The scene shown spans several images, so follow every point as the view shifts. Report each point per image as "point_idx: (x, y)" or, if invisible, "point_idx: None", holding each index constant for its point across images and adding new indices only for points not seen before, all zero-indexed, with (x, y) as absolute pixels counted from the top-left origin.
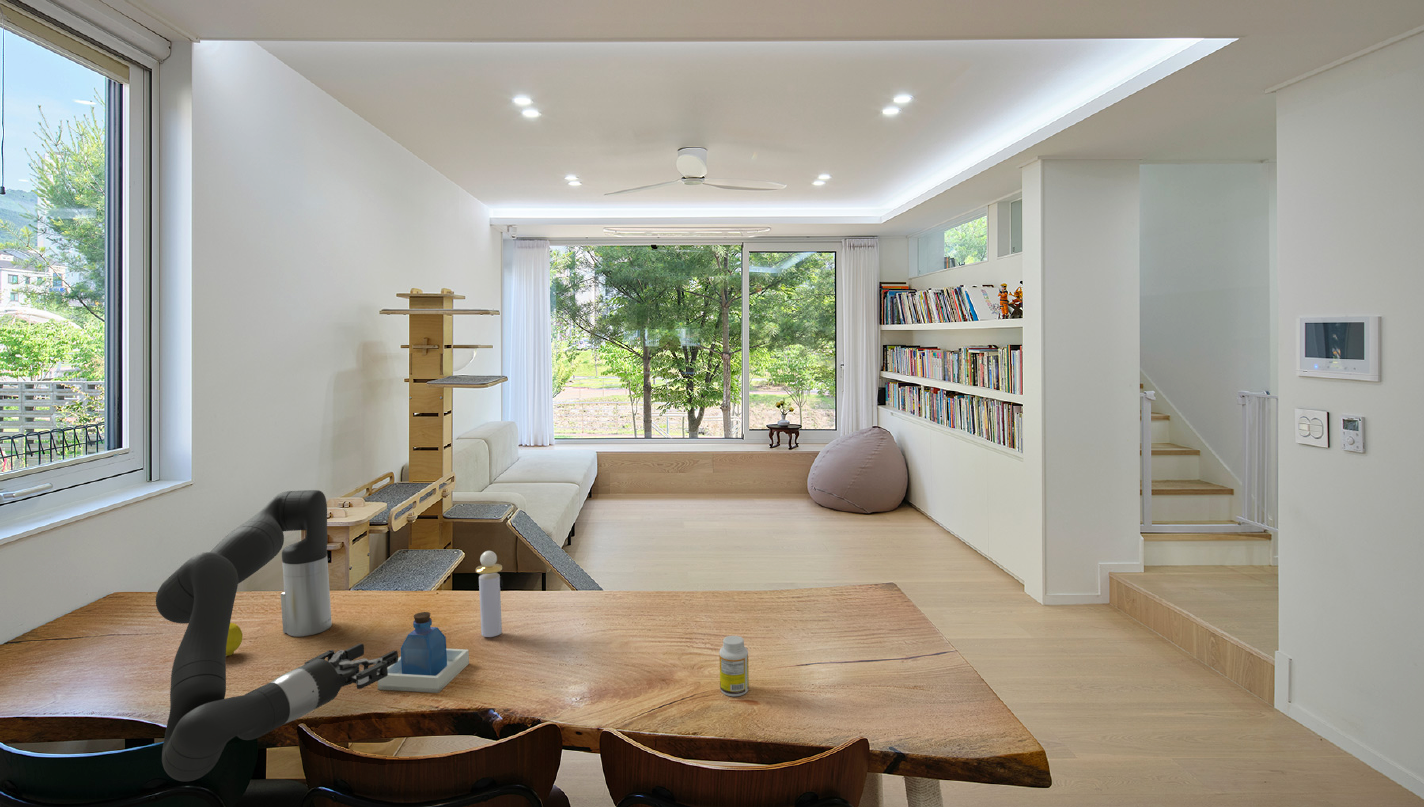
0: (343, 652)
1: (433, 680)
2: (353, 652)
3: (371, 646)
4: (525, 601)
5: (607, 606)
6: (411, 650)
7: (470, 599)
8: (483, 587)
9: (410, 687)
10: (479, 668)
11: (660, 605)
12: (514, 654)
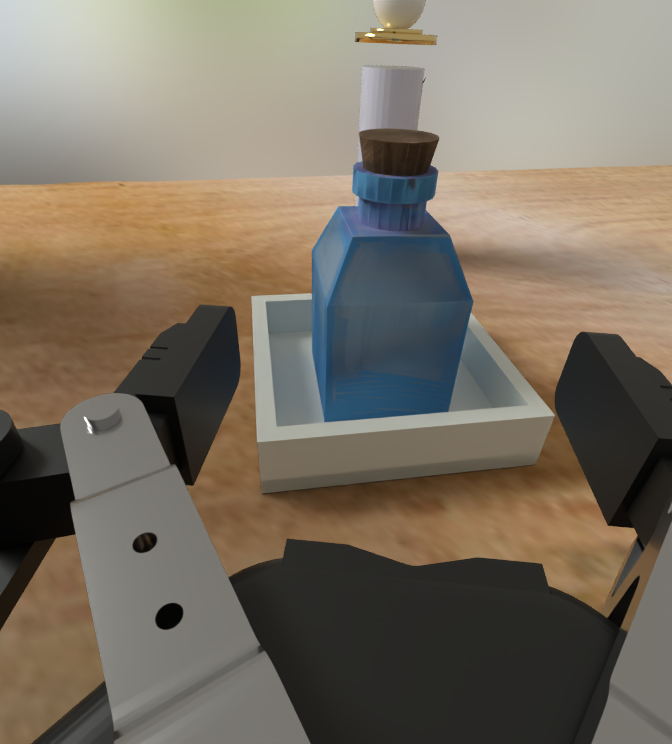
0: (150, 424)
1: (532, 427)
2: (206, 389)
3: (60, 308)
4: (332, 189)
5: (499, 190)
6: (383, 311)
7: (211, 191)
8: (392, 100)
9: (419, 465)
10: (499, 340)
11: (581, 185)
12: (513, 290)
